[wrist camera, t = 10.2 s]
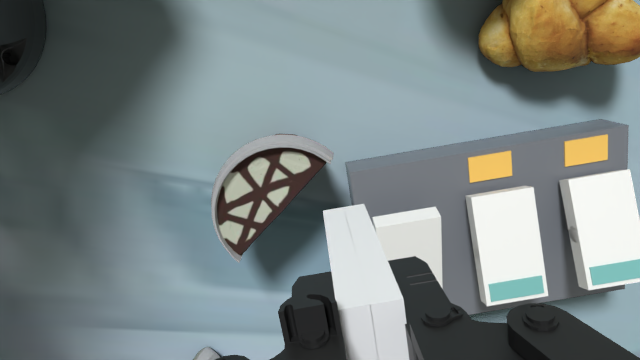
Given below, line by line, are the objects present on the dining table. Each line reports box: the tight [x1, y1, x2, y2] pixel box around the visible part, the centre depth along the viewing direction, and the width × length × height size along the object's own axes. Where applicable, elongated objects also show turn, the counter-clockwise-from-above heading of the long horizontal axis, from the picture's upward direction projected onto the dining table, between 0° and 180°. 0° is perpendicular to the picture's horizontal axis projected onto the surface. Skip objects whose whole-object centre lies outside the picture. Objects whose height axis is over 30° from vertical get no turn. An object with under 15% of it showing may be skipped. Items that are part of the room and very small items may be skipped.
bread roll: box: [479, 0, 640, 72], centre depth 39 cm, size 13×10×8 cm
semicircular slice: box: [211, 134, 334, 263], centre depth 41 cm, size 12×6×10 cm, turn 138°
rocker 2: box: [465, 186, 548, 306], centre depth 42 cm, size 10×6×2 cm, turn 9°
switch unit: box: [345, 119, 628, 315], centre depth 46 cm, size 17×26×6 cm, turn 99°
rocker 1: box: [372, 206, 443, 289], centre depth 42 cm, size 10×6×2 cm, turn 9°
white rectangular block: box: [559, 169, 640, 290], centre depth 42 cm, size 10×6×2 cm, turn 9°
